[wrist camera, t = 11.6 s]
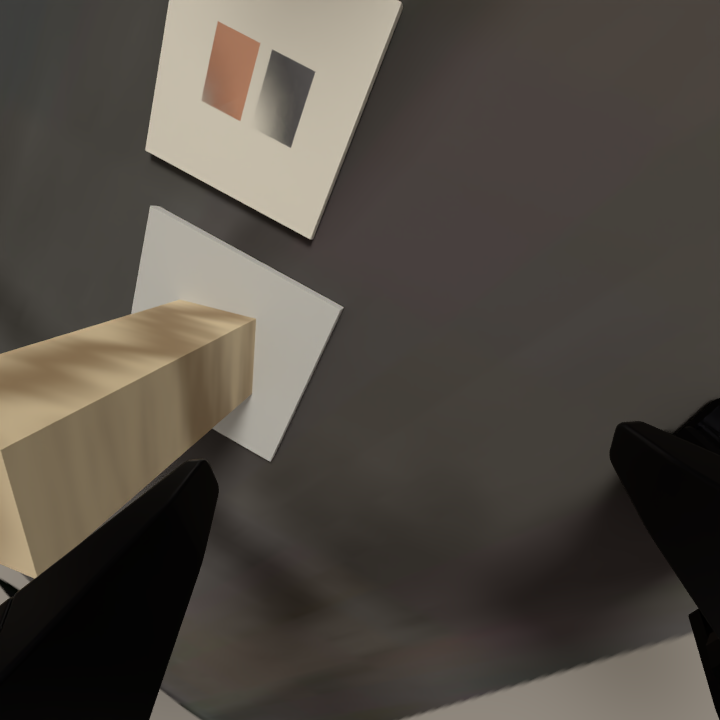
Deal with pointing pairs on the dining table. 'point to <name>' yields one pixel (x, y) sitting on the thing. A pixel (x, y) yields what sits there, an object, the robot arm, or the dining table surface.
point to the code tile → (267, 96)
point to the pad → (248, 298)
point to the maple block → (108, 418)
